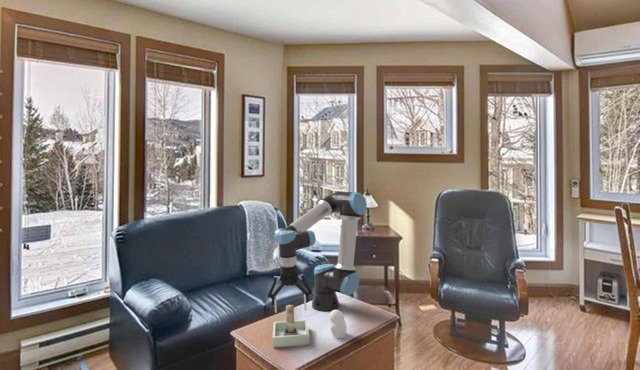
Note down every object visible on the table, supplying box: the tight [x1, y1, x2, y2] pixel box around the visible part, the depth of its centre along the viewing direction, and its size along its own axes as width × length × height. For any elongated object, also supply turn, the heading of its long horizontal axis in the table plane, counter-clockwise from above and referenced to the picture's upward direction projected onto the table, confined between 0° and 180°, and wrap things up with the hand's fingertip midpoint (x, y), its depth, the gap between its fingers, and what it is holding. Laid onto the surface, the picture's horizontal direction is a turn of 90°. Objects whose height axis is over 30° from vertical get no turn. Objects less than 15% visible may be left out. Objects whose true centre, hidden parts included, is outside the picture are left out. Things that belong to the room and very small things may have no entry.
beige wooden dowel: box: [285, 304, 295, 333], centre depth 168 cm, size 4×4×14 cm
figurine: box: [329, 309, 347, 339], centre depth 169 cm, size 7×8×12 cm
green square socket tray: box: [272, 319, 310, 349], centre depth 168 cm, size 16×16×4 cm
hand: (290, 310), depth 168 cm, fingers open, 13 cm apart
